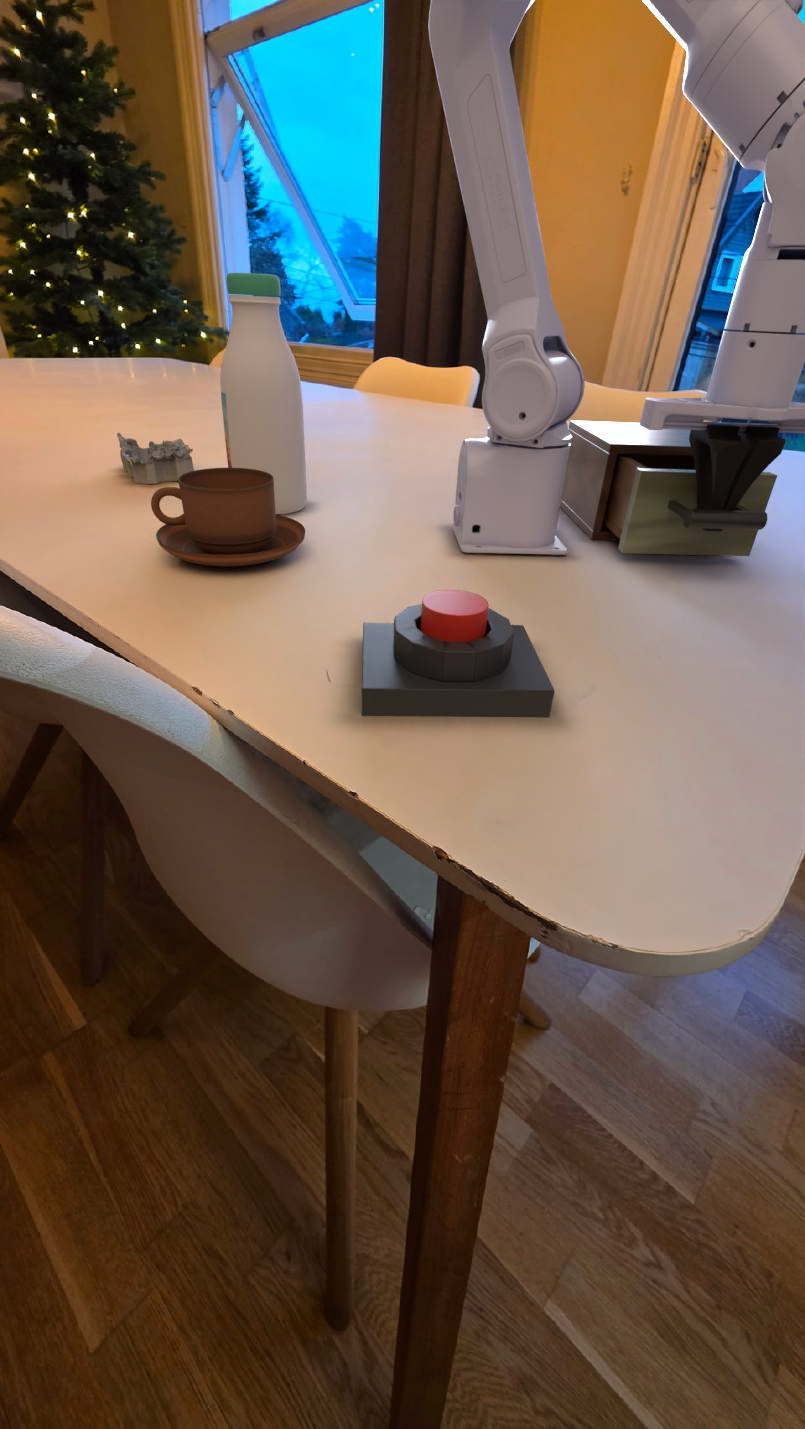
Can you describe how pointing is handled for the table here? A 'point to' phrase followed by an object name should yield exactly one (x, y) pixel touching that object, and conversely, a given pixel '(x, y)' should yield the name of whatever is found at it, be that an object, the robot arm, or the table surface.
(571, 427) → the cabinet
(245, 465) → the milk bottle
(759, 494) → the drawer
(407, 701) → the control block
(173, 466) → the egg carton
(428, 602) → the button
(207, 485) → the cup and saucer
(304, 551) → the table surface
